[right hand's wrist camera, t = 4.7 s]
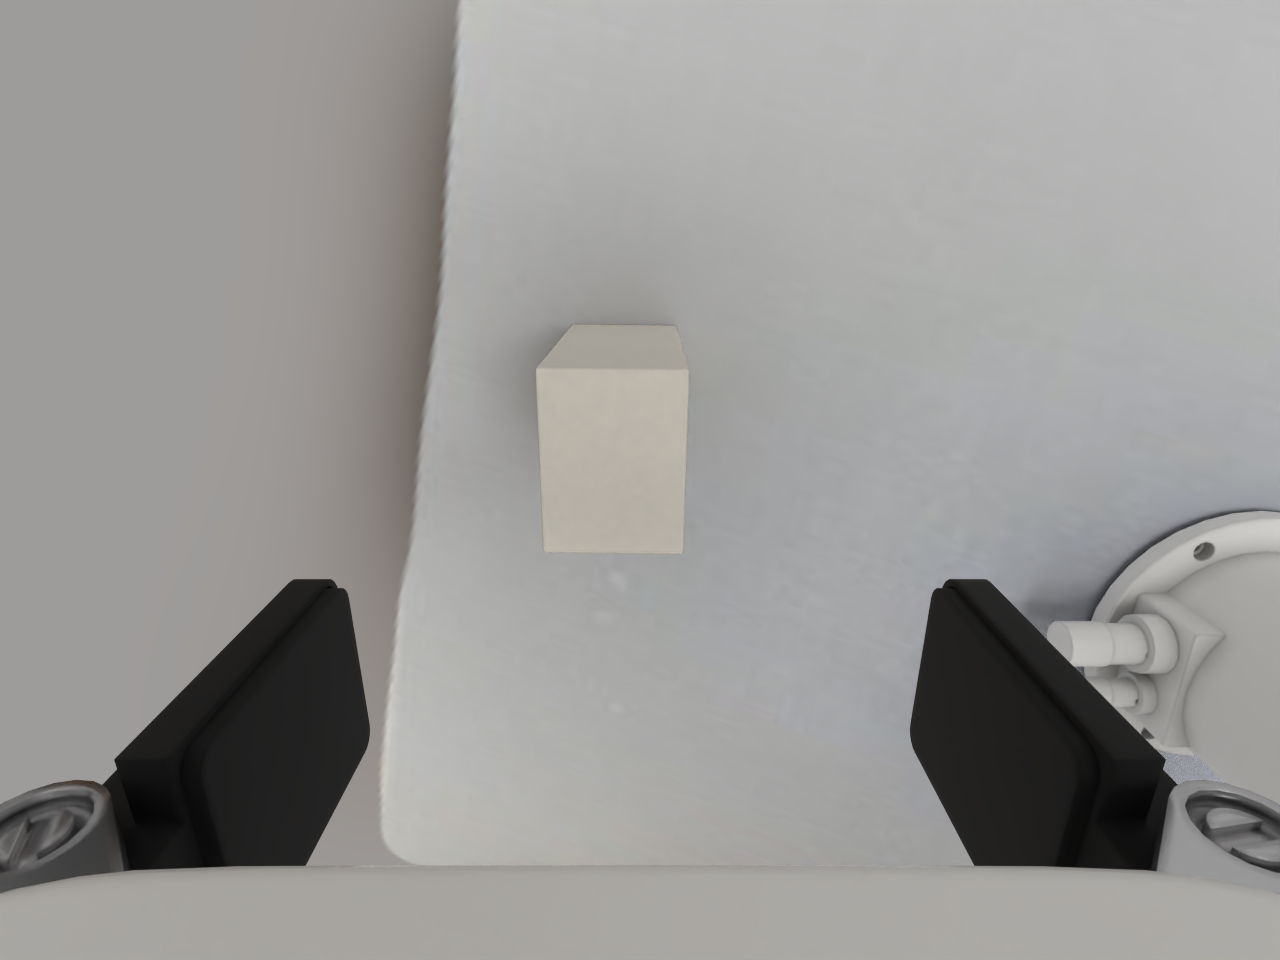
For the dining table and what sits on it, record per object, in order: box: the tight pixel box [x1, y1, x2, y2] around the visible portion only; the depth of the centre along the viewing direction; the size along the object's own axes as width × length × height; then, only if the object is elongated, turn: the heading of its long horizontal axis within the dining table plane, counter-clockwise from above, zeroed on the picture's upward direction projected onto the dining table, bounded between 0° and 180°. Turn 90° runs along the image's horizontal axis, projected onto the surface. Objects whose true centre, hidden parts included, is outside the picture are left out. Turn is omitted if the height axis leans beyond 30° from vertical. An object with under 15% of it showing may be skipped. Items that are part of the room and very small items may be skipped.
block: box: [535, 324, 689, 554], centre depth 25 cm, size 4×6×10 cm
